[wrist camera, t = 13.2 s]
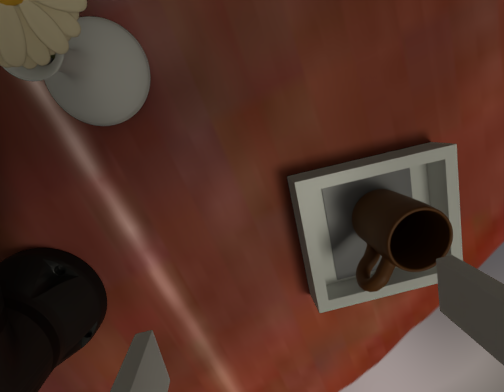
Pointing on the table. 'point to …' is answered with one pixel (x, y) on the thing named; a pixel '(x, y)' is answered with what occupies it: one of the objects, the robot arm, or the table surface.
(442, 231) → the mug
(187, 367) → the table surface
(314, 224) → the tray
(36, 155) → the table surface
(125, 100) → the flower in vase
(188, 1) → the table surface
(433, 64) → the table surface
